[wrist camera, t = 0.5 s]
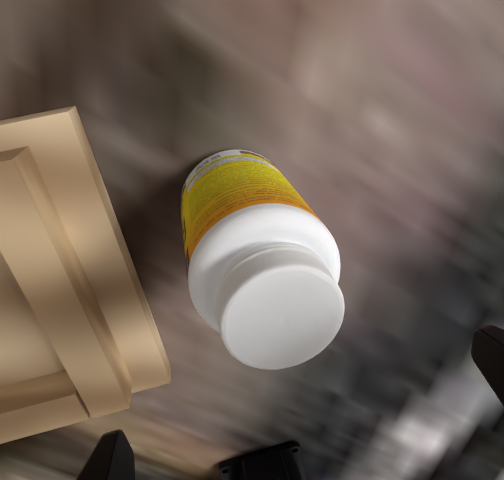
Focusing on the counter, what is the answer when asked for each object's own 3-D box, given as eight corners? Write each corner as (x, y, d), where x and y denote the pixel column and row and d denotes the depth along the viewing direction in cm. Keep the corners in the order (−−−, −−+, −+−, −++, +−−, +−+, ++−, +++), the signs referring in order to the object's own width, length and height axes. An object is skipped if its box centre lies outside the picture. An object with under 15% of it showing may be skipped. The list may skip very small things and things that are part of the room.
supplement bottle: (158, 181, 20) (153, 303, 11) (256, 125, 19) (334, 203, 10) (213, 263, 22) (245, 414, 14) (300, 215, 22) (392, 337, 13)
